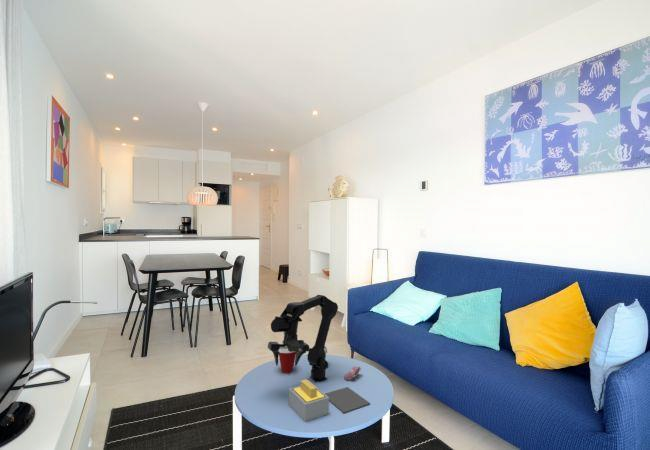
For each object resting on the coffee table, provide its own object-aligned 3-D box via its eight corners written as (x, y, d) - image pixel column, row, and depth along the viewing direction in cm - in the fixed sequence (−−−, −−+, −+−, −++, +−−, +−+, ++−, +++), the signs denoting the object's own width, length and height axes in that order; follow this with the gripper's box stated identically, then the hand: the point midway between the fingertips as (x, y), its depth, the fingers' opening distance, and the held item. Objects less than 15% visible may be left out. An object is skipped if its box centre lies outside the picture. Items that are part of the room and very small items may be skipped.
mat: (347, 388, 161) (347, 386, 161) (370, 404, 147) (370, 403, 147) (322, 395, 154) (322, 394, 154) (343, 413, 139) (343, 412, 139)
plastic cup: (292, 365, 186) (292, 343, 186) (300, 372, 177) (301, 350, 177) (273, 369, 181) (273, 346, 181) (281, 377, 172) (281, 353, 172)
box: (310, 397, 152) (311, 382, 152) (328, 413, 139) (328, 397, 139) (288, 404, 146) (289, 388, 146) (305, 421, 133) (305, 404, 133)
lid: (310, 386, 150) (310, 376, 150) (324, 398, 139) (324, 387, 139) (293, 391, 146) (293, 380, 146) (306, 404, 135) (306, 393, 135)
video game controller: (349, 384, 168) (355, 373, 166) (342, 378, 170) (348, 367, 168) (358, 377, 176) (363, 366, 174) (351, 371, 178) (356, 361, 177)
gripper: (276, 334, 146) (271, 371, 144) (315, 336, 153) (311, 371, 151) (269, 328, 156) (264, 363, 154) (307, 330, 163) (302, 363, 162)
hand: (286, 365), depth 155 cm, fingers open, 9 cm apart
